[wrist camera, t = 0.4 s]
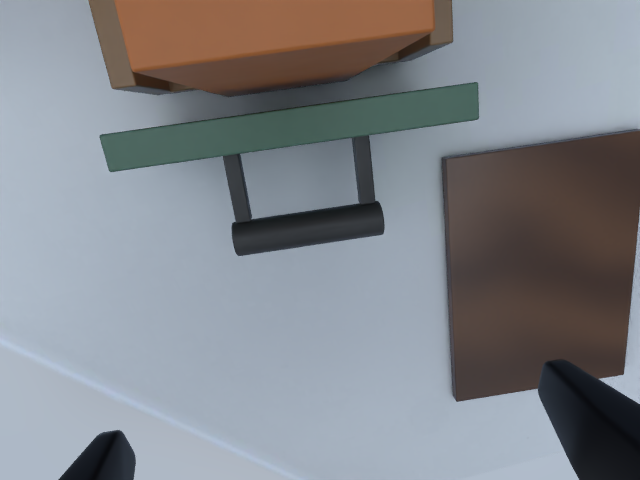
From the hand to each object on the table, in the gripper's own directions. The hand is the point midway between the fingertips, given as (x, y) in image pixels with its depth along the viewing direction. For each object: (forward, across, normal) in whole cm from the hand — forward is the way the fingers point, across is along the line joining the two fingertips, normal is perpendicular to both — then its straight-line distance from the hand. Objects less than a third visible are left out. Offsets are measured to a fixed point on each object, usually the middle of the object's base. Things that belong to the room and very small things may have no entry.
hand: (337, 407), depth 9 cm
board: (+12, -12, +7) cm, 18 cm away
